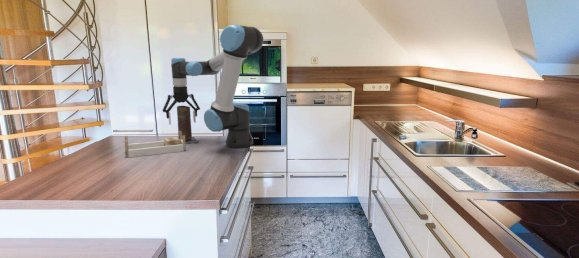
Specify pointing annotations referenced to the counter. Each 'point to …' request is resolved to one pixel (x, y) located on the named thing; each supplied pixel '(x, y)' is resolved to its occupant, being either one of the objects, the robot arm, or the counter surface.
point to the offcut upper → (172, 141)
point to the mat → (191, 141)
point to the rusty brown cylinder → (184, 122)
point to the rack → (153, 147)
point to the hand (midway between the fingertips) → (182, 123)
